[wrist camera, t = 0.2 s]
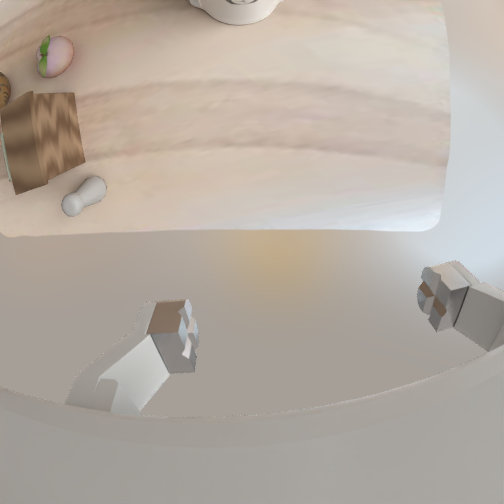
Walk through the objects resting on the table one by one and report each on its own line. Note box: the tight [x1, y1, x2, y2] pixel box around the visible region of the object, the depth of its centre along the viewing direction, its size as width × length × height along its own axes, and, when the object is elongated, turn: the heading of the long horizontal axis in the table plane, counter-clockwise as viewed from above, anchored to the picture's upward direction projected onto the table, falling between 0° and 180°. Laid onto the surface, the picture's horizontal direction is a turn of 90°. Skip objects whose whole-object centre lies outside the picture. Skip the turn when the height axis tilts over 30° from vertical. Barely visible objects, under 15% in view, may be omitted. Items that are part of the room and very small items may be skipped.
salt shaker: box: [62, 176, 107, 217], centre depth 48 cm, size 6×6×13 cm
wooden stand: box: [0, 91, 85, 195], centre depth 40 cm, size 17×22×16 cm
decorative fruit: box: [36, 36, 74, 78], centre depth 34 cm, size 9×8×10 cm
